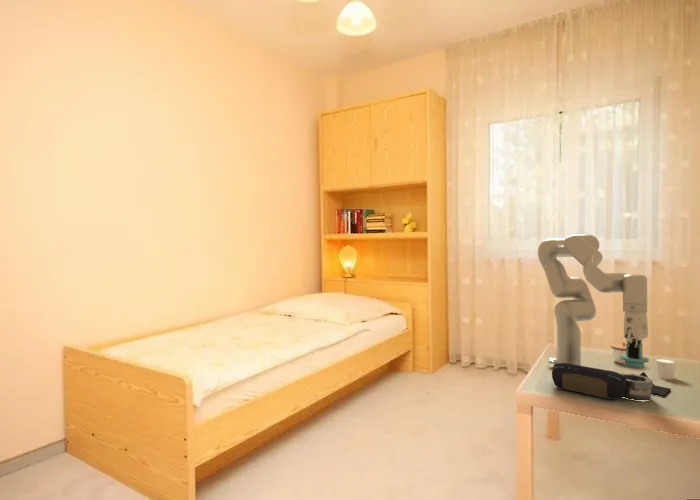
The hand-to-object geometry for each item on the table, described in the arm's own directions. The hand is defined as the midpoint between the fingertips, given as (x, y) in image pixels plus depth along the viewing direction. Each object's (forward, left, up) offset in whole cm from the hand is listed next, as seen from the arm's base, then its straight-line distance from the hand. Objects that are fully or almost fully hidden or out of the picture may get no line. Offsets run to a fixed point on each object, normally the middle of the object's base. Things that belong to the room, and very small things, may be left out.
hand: (635, 357), depth 159 cm
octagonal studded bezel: (0, 0, -15) cm, 15 cm away
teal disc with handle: (0, 0, -3) cm, 3 cm away
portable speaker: (-13, -10, -15) cm, 22 cm away
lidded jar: (-21, +47, -15) cm, 54 cm away
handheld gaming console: (+2, +13, -15) cm, 20 cm away
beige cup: (-1, +36, -15) cm, 39 cm away
